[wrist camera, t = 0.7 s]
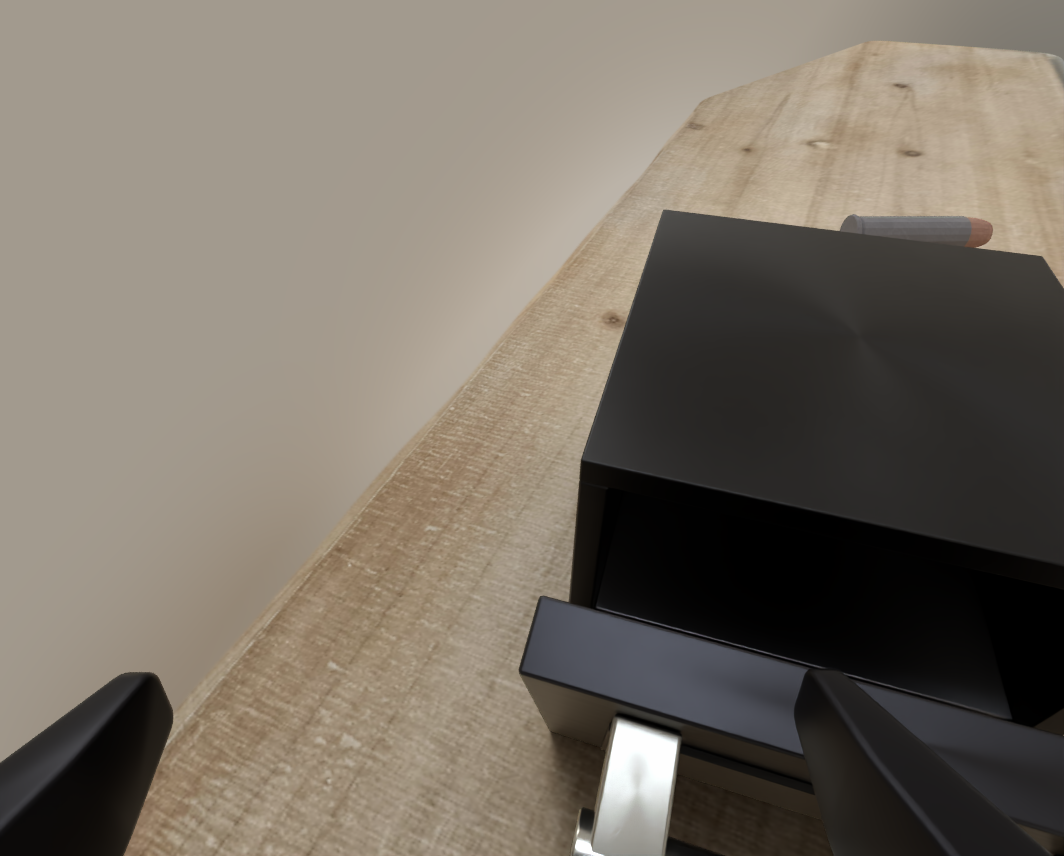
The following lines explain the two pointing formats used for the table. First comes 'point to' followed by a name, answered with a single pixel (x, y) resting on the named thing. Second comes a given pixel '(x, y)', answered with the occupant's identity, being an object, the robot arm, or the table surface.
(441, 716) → the table surface
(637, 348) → the oven
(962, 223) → the bullet cartridge
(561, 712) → the oven door
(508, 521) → the table surface
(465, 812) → the table surface
